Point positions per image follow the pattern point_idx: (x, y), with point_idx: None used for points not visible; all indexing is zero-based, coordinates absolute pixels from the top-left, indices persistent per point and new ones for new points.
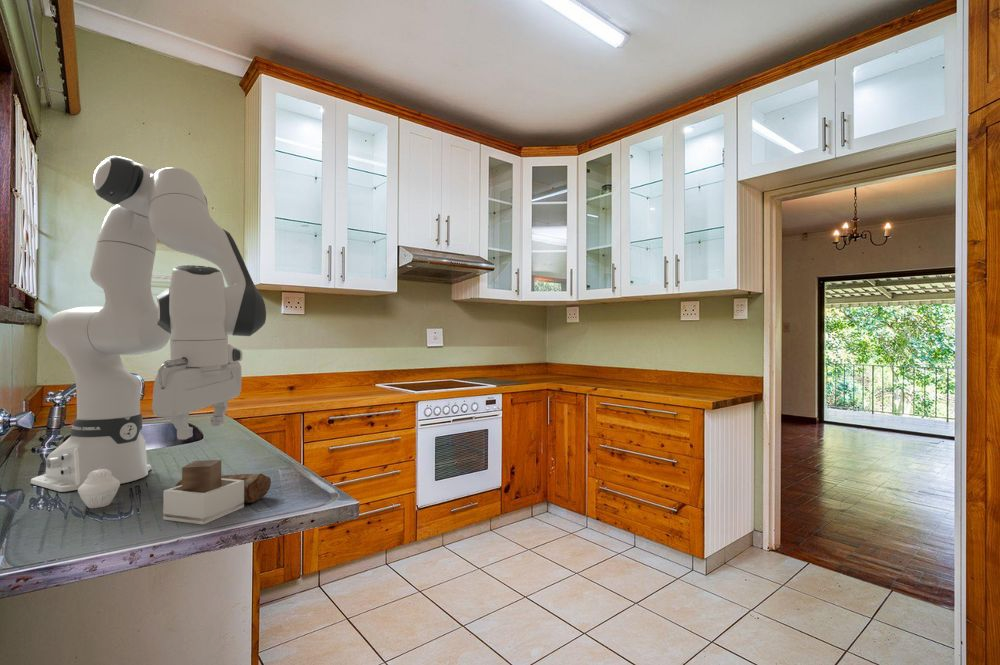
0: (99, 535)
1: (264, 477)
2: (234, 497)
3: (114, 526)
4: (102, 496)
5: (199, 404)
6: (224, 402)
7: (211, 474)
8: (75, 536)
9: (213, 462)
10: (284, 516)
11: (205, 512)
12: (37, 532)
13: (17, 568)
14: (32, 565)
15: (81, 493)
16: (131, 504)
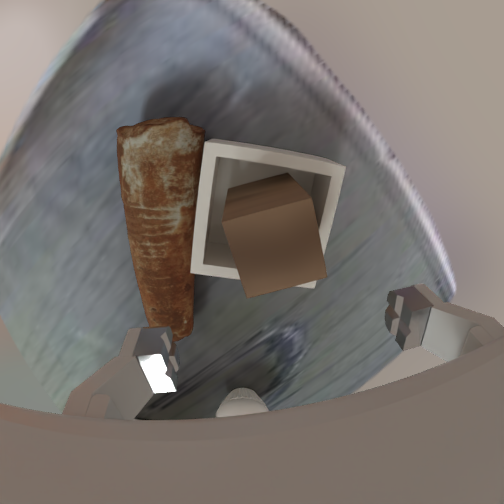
0: (368, 300)
1: (142, 123)
2: (242, 144)
3: (333, 310)
4: (255, 398)
5: (477, 374)
6: (96, 416)
7: (298, 193)
8: (368, 327)
9: (261, 223)
10: (260, 17)
11: (326, 159)
12: (347, 377)
13: (450, 297)
14: (446, 290)
15: None
16: (230, 363)
